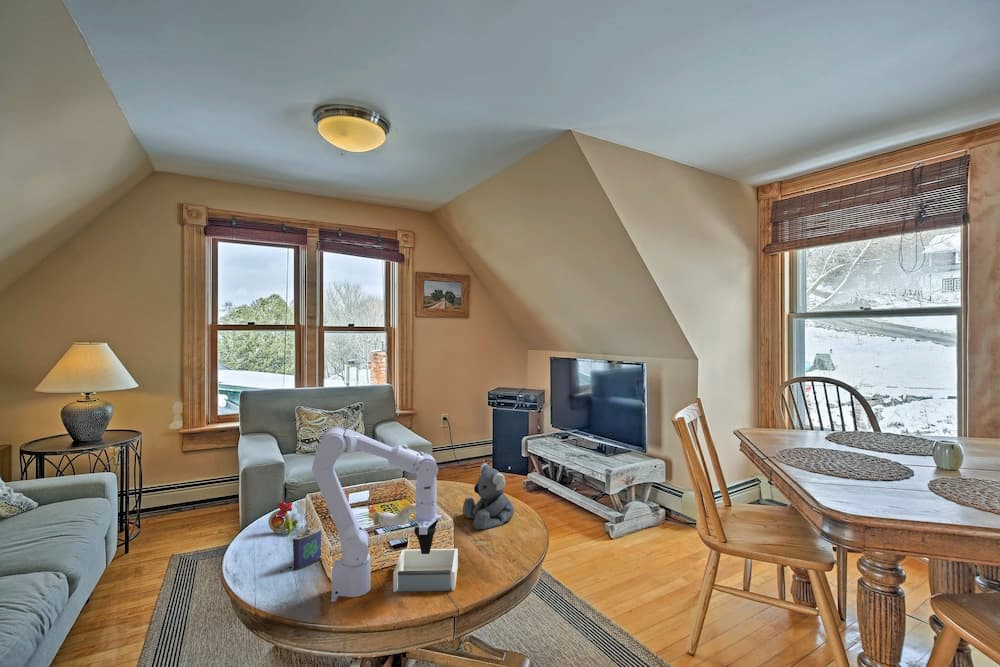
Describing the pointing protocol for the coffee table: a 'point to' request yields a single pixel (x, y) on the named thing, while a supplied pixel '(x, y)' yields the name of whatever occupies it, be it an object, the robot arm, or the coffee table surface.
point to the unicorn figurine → (394, 516)
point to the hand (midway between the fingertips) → (426, 549)
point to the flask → (307, 548)
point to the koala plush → (489, 500)
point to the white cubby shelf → (427, 563)
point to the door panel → (424, 580)
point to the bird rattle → (278, 521)
